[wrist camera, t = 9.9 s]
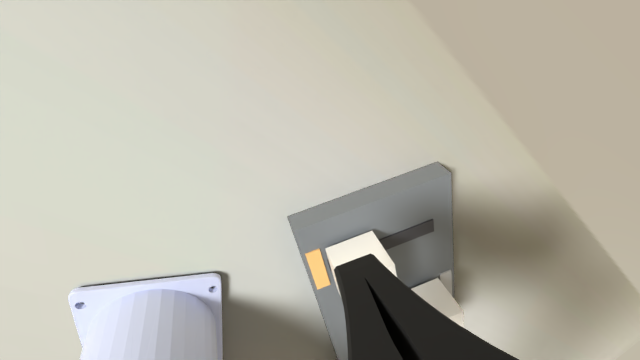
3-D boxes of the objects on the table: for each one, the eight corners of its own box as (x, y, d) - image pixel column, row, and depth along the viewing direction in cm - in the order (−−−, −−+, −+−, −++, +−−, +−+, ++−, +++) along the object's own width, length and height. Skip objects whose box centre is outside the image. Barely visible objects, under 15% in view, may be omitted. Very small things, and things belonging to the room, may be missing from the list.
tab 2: (439, 309, 28) (463, 343, 25) (403, 324, 27) (424, 359, 25) (437, 277, 26) (463, 311, 23) (399, 293, 25) (421, 329, 23)
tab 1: (380, 271, 24) (401, 307, 21) (336, 288, 23) (353, 326, 21) (372, 230, 22) (394, 264, 19) (325, 248, 21) (341, 286, 19)
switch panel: (446, 341, 34) (456, 356, 33) (346, 384, 33) (353, 401, 31) (437, 161, 23) (452, 173, 22) (287, 216, 22) (293, 232, 20)
